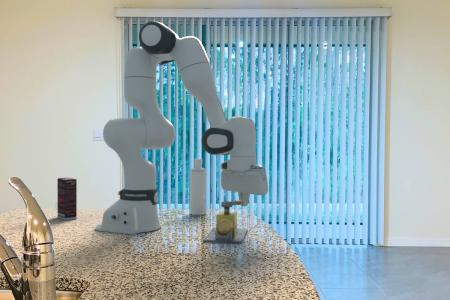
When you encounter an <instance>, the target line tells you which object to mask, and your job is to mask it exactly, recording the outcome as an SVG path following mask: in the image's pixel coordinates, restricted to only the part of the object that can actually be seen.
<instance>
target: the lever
mask: <svg viewBox="0 0 450 300" xmlns="http://www.w3.org/2000/svg"><path fill="white" fill-rule="evenodd" d="M247 204H248V205H249V204H250V200H249V199H248V203H247ZM220 205H221V208H224V207H230V208H233V206H241V201H240V199H238V200H237V199H236V200H233V201H230V200H229V201H228V200H226V201H224V200H223V201H221V204H220Z"/></svg>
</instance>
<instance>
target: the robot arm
mask: <svg viewBox="0 0 450 300" xmlns="http://www.w3.org/2000/svg"><path fill="white" fill-rule="evenodd" d="M138 41H139V44H140V46H136V47H133V48H131V49H129V50H128V52H127V53H126V57H125V58H126V59H125V63H124V77H123V80H124V81H123V82H124V84H123V85H124V91H123V93H124V96H123V98H124V100H125V102H126V104H128V106H129V107H131V108H133V109H135V110H136V111H137V112H138V113H139V118H137V117H131V118H130V117H120V118H113V119H109V120H108V121H107V122H106V124H105V125H104V127H103V129H102V130H103V131H102V137H103V140H104V142H105V144H106V146H108V147H109V148H110V149H111V150H113V151H114V152H115V153H116V155H117V156H118V158H119V159H120V162H121V163H122V167H123V175H124V176H123V178H124V180H123V181H124V188H122V189H121V190H119V191H117V196H119V199H118V200H117V201H115V202H114V203H113V204H112V205H110V206H109V207H107V208H106V209H105V210H104V212H103V215H102V221H101V222H100V223H98V224H97V225H95V231H97V232H98V231H100V232H107V233H116V234H117V233H118V234H127V235H132V234H138V233H139V234H140V233H145V232H153V231H157V230H159V229H160V228H161V227H162V226H161V221H160V219H159V213H158V200H159V191H158V188H157V168H156V165H155V164H154V163H153V162H151V161H150V160H148V159H146V158H144V157H143V155H142V152H141V151H142V150H161V149H165V148H170V147H171V146H172V145H173V144H174V141H175V139H176V135H177V133H176V129H175V126H174V124H172V122H171V121H170V120H168V119H167V118H166V117H165V116H164V114H163V112H162V111H161V108H160V105H159V102H158V95H157V92H158V91H157V67H158V65H159V66H163V65H166V64H169V63H173V62H175V64H176V67H177V71H178V73H179V76H180V79H181V82H182V84H183V86H184V88H185V89H186V91H187V93H189V95H191V96H192V97H193V98H195V99H196V101H198V102H199V104H200V105H201V107H202V108H203V111H204V112H205V115H206V119H207V122H208V123H209V127H210V128H208V129H206V130H204V132H203V133H202V137H201V140H200V141H201V146H202V148H203V150H204V151H205V152H206V153H208V154H210V155H213V156H229V159H227V160H226V161H224V162H221V164H220V170H221V172H220V185H221V189H222V190H223V191H226V192H234V193H238V194H237V195H238V198H239V200H240V201H241V205H240V206H241V207H247V206H248V205H249V204H247V203H248V200H249V199H250V196H251V195H255V196H265V195H267V194H268V193H269V182H268V176H267V170H266V169H265V168H264V167H263V166H262V165H257V152H256V144H257V131H256V125H255V122H254V121H253V120H252V119H251V118H249V117H245V116H238V115H234V116H231V117H230V118H229V119H228V120H227V118H226V115H225V112H224V109H223V107H222V104H221V101H220V98H219V95H218V91H217V86H216V82H215V77H214V74H213V69H212V66H211V62H210V60H209V56H208V55H207V52H206V50H205V47H204V46H203V44H202V42H201V41H200V39H199V38H197V37H195V36H192V35H189V36H184V37H182V38H181V37H180V36H179V35H178V34H177V33H176V32H175V30H173V29H172V28H170V27H168V26H167V25H165V24H164V23H162V22H159V21H149V22H145V24H143V25H142V27H141V28H140V30H139V33H138Z"/></svg>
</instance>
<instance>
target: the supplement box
mask: <svg viewBox="0 0 450 300" xmlns="http://www.w3.org/2000/svg"><path fill="white" fill-rule="evenodd" d="M56 180H57V186H56V187H57V218H58V219H61V220H63V221H72V220H77V218H78V217H77V211H78V210H77V203H78V202H77V201H78V199H77V195H78V193H77V192H78V191H77V190H78V189H77V184H78V183H77V178H71V177H58V178H57V179H56Z"/></svg>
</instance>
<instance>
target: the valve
mask: <svg viewBox="0 0 450 300" xmlns="http://www.w3.org/2000/svg"><path fill="white" fill-rule="evenodd" d="M230 209H231V207H223V211H220V210H219V211H218V212H217V213H216V216H215V219H216V220H215V227H213V228H212V229H210V231H209V232H208V233H207V235H206V236H205V237H204V238H203V240H202V242H203V243H206V242H210V244H228V245H229V244H231V245H242V244H243V243H244V240H245V239H246V236H247V233H248V228H238V212H237V211H230Z"/></svg>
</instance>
